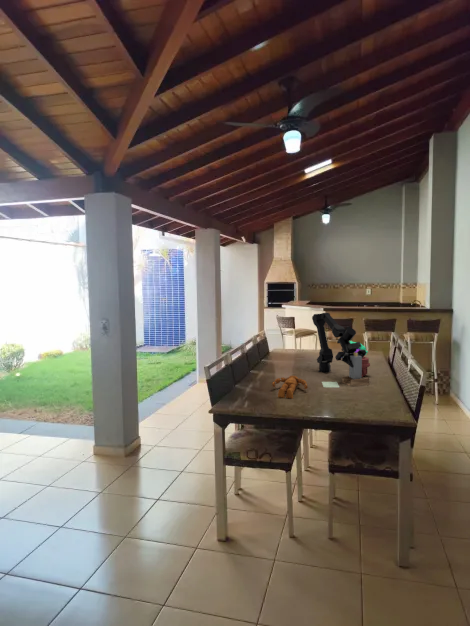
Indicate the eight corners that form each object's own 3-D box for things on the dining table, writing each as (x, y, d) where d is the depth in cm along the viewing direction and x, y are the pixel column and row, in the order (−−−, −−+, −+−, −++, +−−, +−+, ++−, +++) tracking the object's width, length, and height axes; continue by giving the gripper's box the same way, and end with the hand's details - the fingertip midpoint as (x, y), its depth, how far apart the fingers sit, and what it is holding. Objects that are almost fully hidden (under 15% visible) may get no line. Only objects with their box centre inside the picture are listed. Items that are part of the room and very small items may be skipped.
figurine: (345, 363, 308) (372, 359, 308) (343, 344, 307) (369, 340, 306) (339, 358, 326) (364, 354, 326) (336, 340, 325) (362, 336, 325)
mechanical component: (368, 374, 267) (370, 378, 257) (352, 373, 269) (354, 377, 259) (369, 355, 265) (371, 358, 256) (353, 354, 267) (354, 358, 258)
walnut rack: (342, 383, 246) (342, 376, 246) (358, 381, 250) (359, 374, 250) (351, 386, 237) (351, 380, 237) (368, 384, 241) (369, 378, 241)
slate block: (349, 377, 245) (349, 352, 243) (356, 376, 247) (356, 351, 245) (354, 379, 240) (354, 353, 239) (361, 378, 242) (362, 353, 240)
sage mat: (321, 382, 248) (321, 381, 248) (336, 382, 247) (336, 381, 247) (323, 387, 237) (323, 387, 237) (339, 387, 236) (339, 387, 236)
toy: (304, 402, 215) (311, 384, 243) (304, 389, 214) (311, 373, 242) (266, 399, 221) (278, 382, 249) (266, 386, 220) (278, 371, 248)
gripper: (338, 338, 242) (349, 360, 232) (365, 336, 248) (376, 357, 239) (330, 349, 250) (341, 371, 241) (356, 347, 256) (367, 368, 247)
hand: (356, 366), depth 242 cm, fingers closed on slate block, 5 cm apart
